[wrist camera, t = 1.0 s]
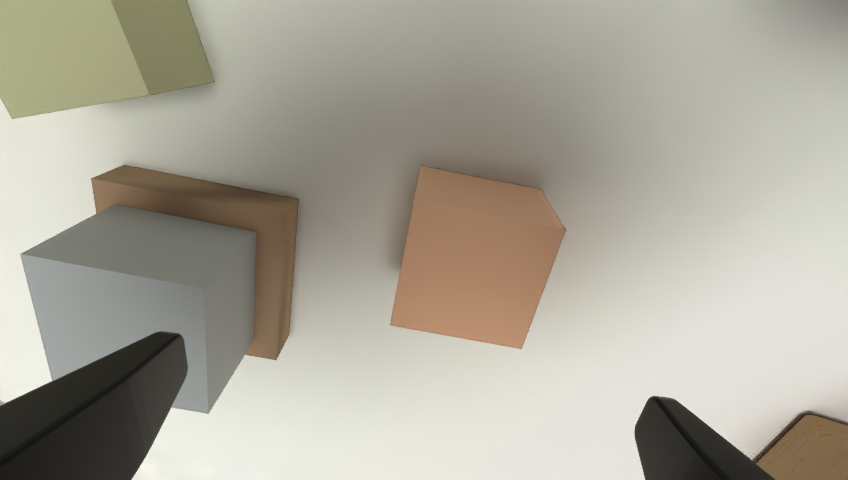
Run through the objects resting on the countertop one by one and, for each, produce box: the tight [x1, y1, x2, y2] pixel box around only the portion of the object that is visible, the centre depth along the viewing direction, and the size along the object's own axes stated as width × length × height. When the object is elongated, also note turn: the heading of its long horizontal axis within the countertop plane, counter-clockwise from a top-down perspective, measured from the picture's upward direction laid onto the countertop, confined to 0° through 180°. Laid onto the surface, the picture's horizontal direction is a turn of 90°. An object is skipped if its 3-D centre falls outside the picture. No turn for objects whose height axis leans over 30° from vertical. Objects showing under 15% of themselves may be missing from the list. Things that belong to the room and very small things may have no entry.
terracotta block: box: [390, 166, 566, 349], centre depth 18 cm, size 6×6×4 cm
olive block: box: [0, 0, 215, 119], centre depth 15 cm, size 5×5×4 cm
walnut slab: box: [91, 165, 299, 360], centre depth 21 cm, size 8×8×2 cm
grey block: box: [20, 204, 257, 414], centre depth 18 cm, size 6×6×4 cm
